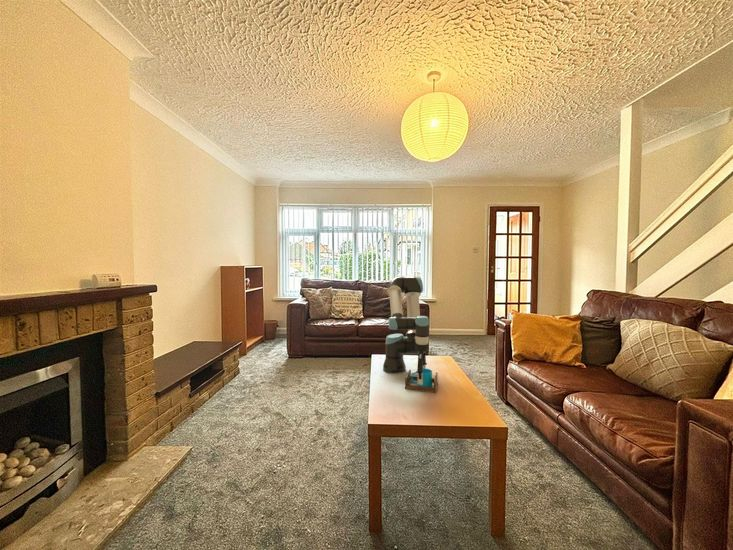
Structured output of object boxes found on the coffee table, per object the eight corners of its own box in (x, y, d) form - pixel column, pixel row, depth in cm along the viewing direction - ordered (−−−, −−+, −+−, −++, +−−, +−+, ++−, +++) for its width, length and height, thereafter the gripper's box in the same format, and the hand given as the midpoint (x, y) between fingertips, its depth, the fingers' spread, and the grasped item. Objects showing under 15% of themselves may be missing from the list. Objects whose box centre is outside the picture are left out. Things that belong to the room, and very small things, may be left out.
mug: (431, 382, 174) (431, 368, 174) (432, 388, 166) (432, 373, 166) (410, 381, 176) (410, 367, 175) (411, 387, 167) (411, 372, 167)
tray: (409, 379, 181) (409, 369, 180) (437, 382, 176) (437, 372, 175) (405, 388, 166) (405, 378, 166) (435, 392, 161) (435, 381, 161)
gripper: (418, 338, 184) (418, 372, 184) (411, 348, 160) (411, 387, 160) (430, 339, 181) (430, 373, 182) (426, 349, 157) (425, 389, 158)
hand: (421, 380), depth 171 cm, fingers open, 13 cm apart
